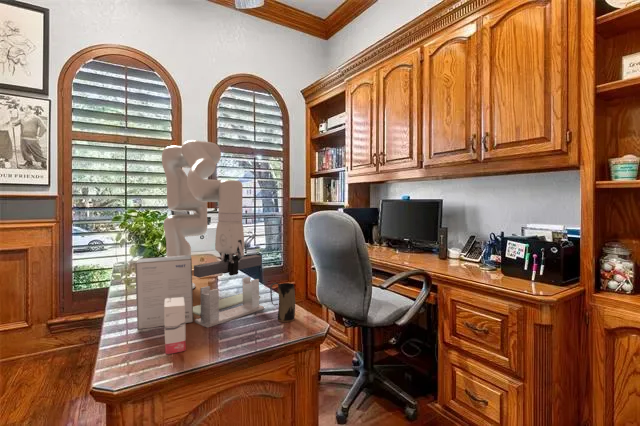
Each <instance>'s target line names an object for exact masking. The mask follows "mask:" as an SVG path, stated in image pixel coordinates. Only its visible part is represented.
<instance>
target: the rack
mask: <svg viewBox="0 0 640 426" xmlns="http://www.w3.org/2000/svg"><path fill="white" fill-rule="evenodd" d="M199 288H200V305H201V315H200V318H196V319H194V323H196V324H197V325H200V326H202V327H205V328H207V329H208V328H211V327H214V326H217V325H220V324H223V323H226V322H229V321H232V320H235V319H239V318H241V317H245V316H246V315H251V314H253V313H255V312H260V311H262V310H264V309H265V306H264V305H261V304H260V298H259V296H260V279H259V278H256V279H253V280H251V276H248V277H243V278H242V293H243V303H242V304H241V305H239V306H236V307H233V308H229V309H225V310H222V311H220V309H219V300H220V298H219V297H220V296H219V295H220V294H219V292H220V291H219V288H214V289H211V286H209V285H207V286H203V287H199Z"/></svg>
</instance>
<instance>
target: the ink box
mask: <svg viewBox="0 0 640 426" xmlns="http://www.w3.org/2000/svg"><path fill="white" fill-rule="evenodd" d="M164 303H165V304H164V325H165V326H164V348H165V349H164V350H165V351H164V352H165V355H170V354H176V353H182V352H185V351H187V348H186V341H187V339H186V337H187V336H186V334H187V333H186V323H185V302H184V297H177V298H166V299H165V302H164Z"/></svg>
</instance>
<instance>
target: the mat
mask: <svg viewBox="0 0 640 426" xmlns="http://www.w3.org/2000/svg"><path fill="white" fill-rule="evenodd" d="M260 298H261V295H259V299H260ZM239 303H240V304H243V292H242V293H239V294H236V295H232V296H227V297H224V298H221V299H220V298H219V310H223V309H225V308H229V307H232V306H235V305H236V306H237V305H239ZM193 315H197V316H201V304H197V305H195V306H194V305H193Z"/></svg>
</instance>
